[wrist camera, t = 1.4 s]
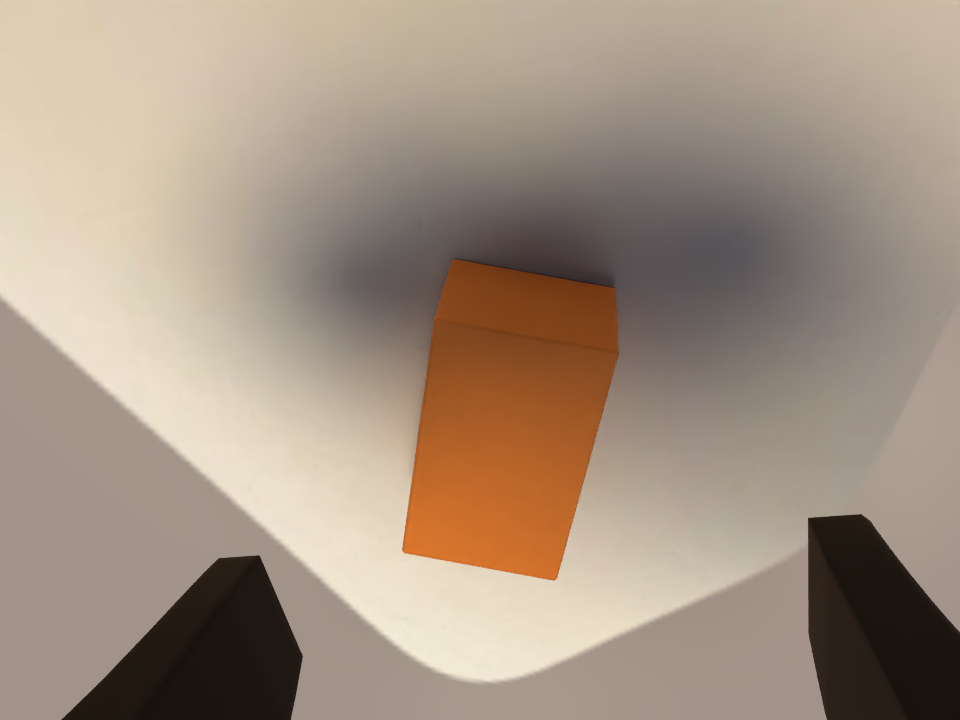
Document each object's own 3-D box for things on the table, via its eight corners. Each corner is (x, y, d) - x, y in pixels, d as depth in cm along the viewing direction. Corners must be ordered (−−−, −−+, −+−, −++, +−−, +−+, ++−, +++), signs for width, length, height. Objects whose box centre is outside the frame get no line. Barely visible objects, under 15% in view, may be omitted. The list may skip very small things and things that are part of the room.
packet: (616, 287, 22) (619, 352, 19) (560, 503, 25) (556, 582, 23) (452, 257, 22) (433, 318, 19) (420, 477, 25) (401, 553, 23)
